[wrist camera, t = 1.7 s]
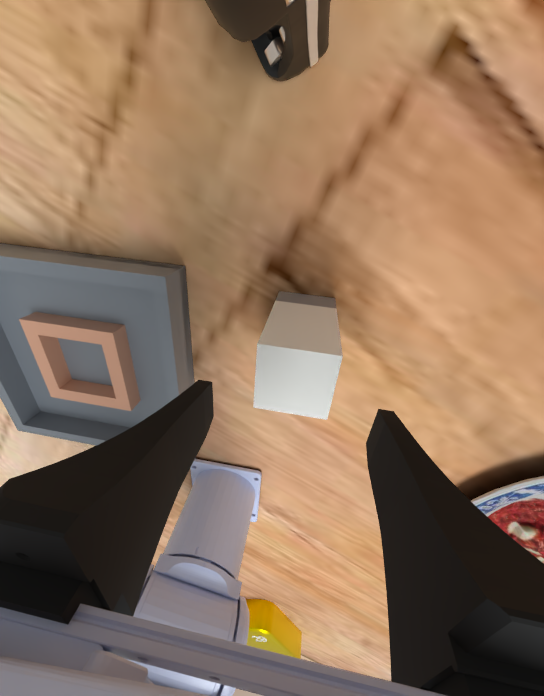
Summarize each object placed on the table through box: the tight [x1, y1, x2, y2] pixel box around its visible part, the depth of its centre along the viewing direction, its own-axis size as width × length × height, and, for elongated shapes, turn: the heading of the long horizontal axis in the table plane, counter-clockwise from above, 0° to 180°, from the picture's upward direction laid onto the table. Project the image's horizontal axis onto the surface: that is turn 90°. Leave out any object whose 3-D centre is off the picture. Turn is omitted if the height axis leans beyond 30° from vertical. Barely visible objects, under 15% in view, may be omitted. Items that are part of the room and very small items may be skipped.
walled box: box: [0, 243, 194, 445], centre depth 24 cm, size 18×18×3 cm
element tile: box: [246, 599, 302, 659], centre depth 50 cm, size 15×15×5 cm
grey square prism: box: [254, 291, 343, 420], centre depth 17 cm, size 4×4×8 cm
